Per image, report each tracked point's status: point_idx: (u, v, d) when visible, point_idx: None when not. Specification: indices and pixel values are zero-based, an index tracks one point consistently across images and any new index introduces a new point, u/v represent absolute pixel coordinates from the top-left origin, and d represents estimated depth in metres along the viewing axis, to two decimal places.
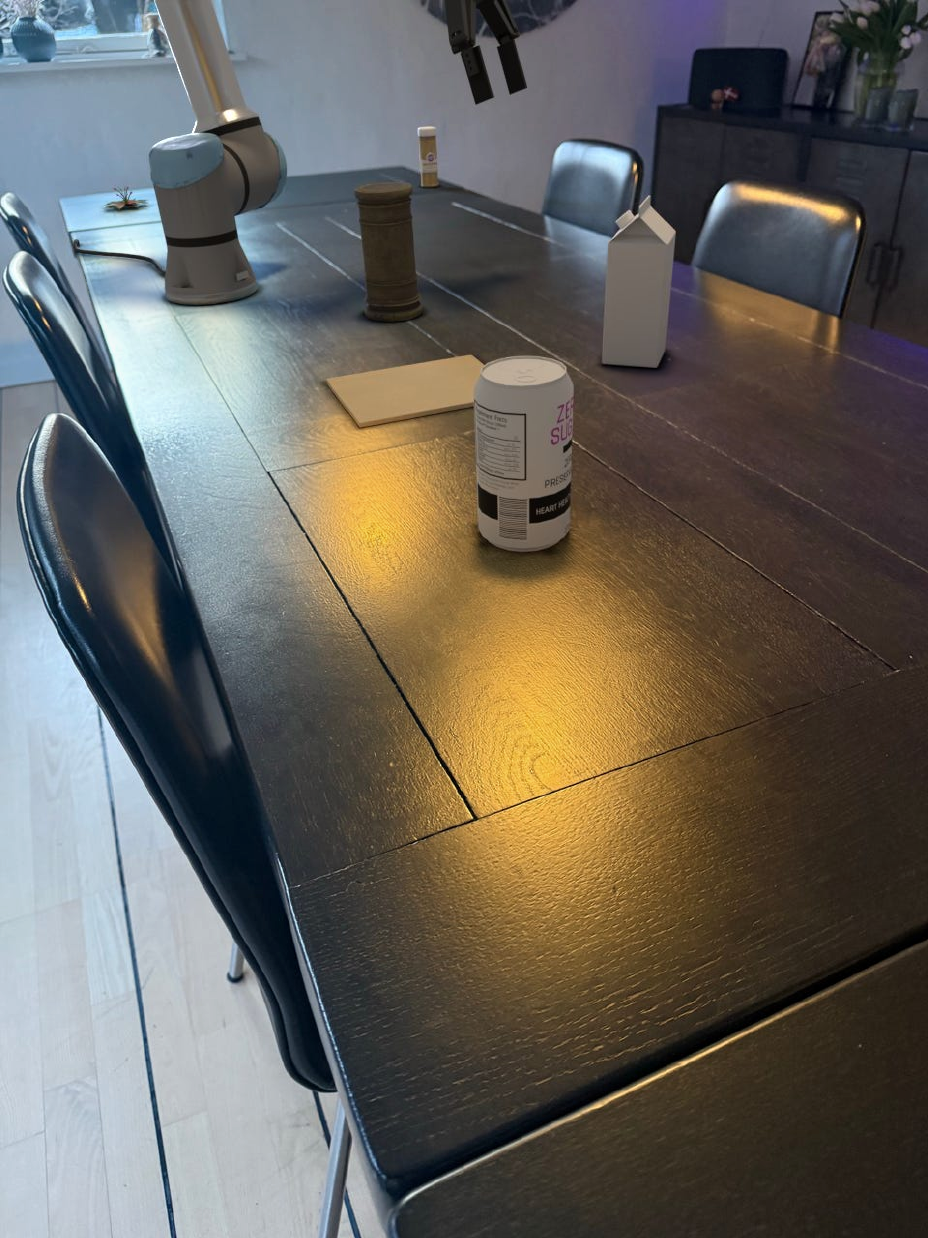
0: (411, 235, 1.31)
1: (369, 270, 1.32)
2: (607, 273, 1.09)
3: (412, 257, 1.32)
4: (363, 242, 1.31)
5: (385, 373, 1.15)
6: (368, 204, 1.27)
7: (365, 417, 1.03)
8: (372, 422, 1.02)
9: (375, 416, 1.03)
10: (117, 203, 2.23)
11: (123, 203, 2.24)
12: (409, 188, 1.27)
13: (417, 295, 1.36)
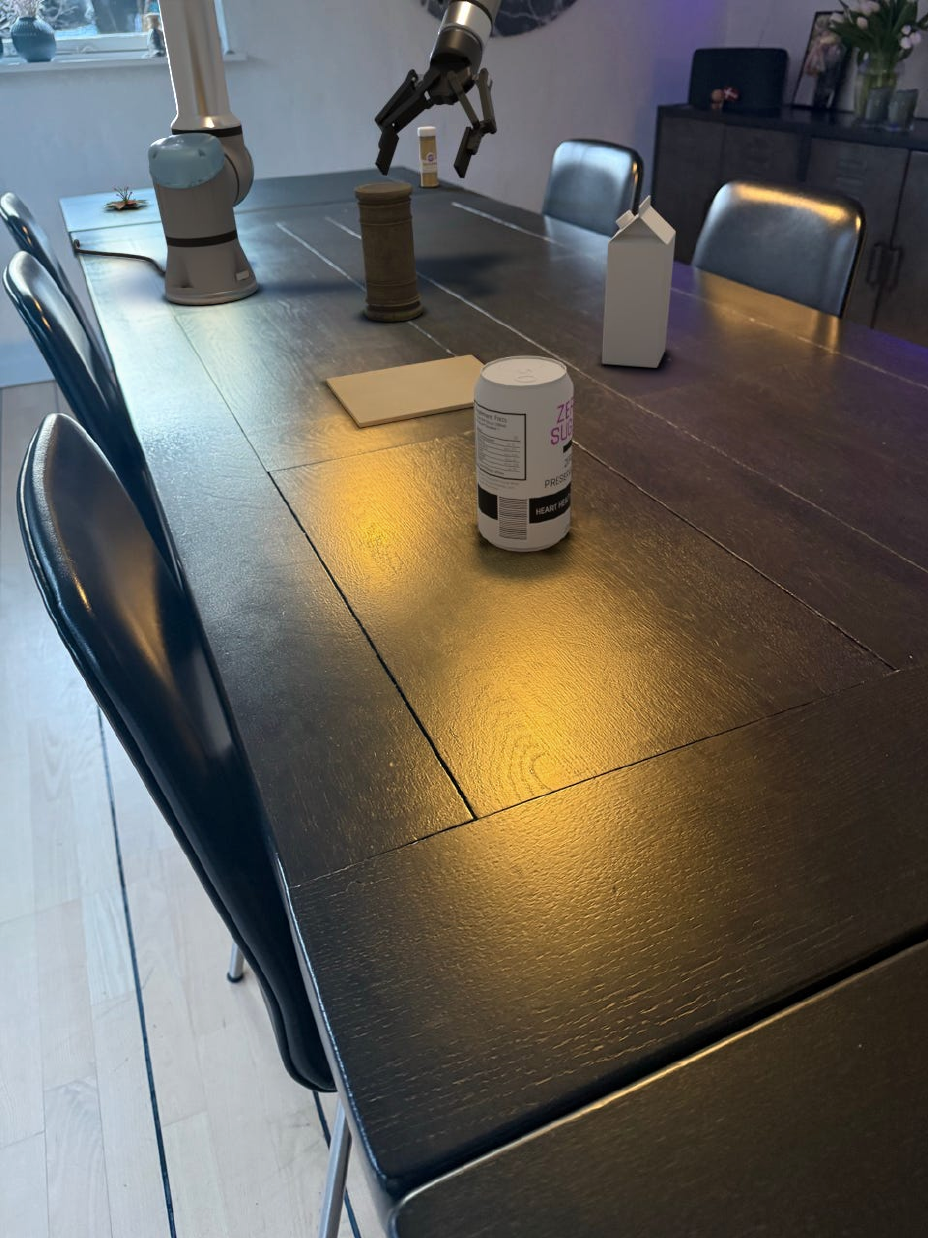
0: (411, 235, 1.31)
1: (369, 270, 1.32)
2: (607, 273, 1.09)
3: (412, 257, 1.32)
4: (363, 242, 1.31)
5: (385, 373, 1.15)
6: (368, 204, 1.27)
7: (365, 417, 1.03)
8: (372, 422, 1.02)
9: (375, 416, 1.03)
10: (117, 203, 2.23)
11: (123, 203, 2.24)
12: (409, 188, 1.27)
13: (417, 295, 1.36)
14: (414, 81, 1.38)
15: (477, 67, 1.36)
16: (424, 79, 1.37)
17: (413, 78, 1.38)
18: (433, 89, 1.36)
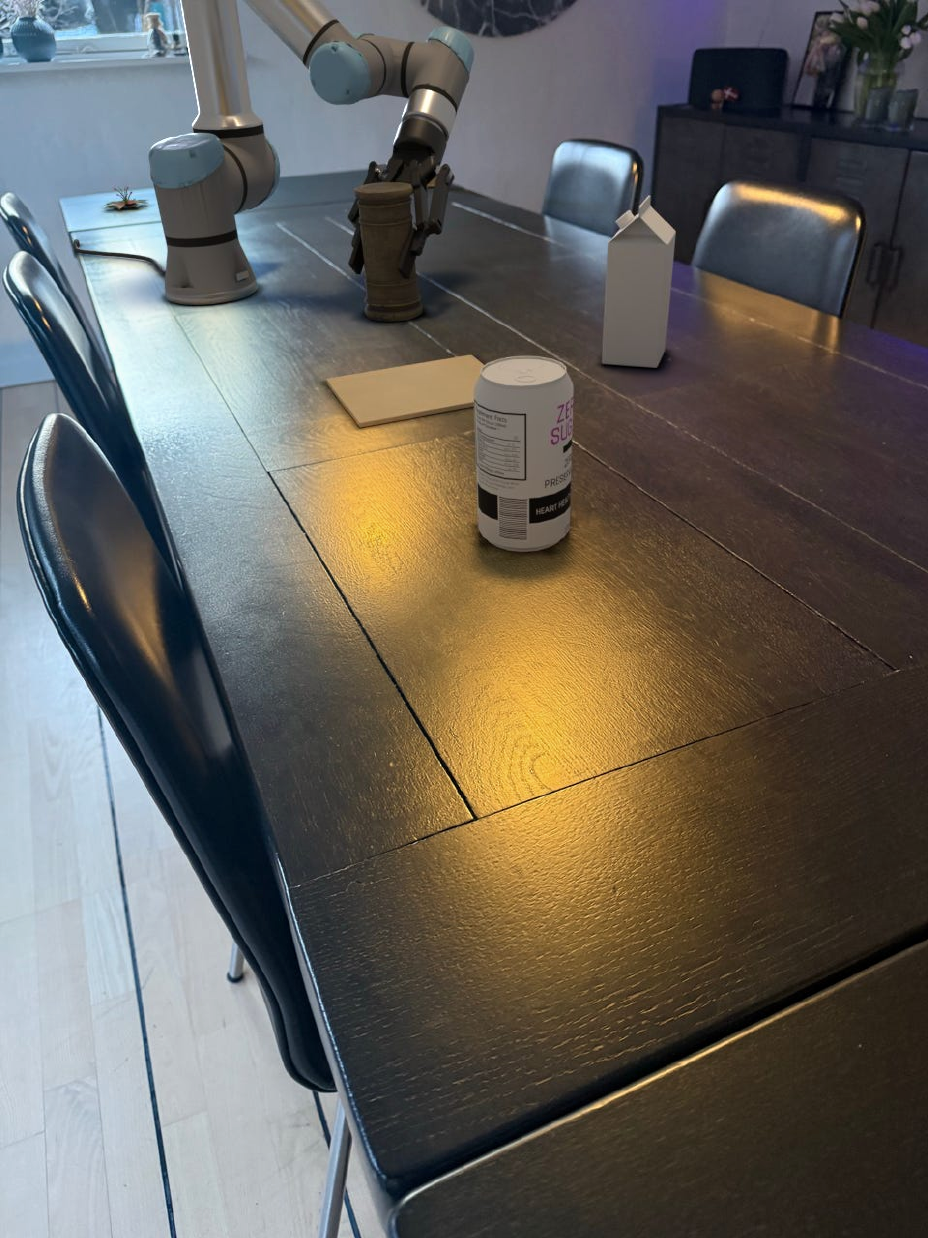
0: None
1: (370, 270, 1.32)
2: (607, 273, 1.09)
3: None
4: (363, 242, 1.31)
5: (385, 373, 1.15)
6: (368, 205, 1.26)
7: (365, 417, 1.03)
8: (372, 422, 1.02)
9: (375, 416, 1.03)
10: (117, 203, 2.23)
11: (123, 203, 2.24)
12: (409, 188, 1.27)
13: (417, 295, 1.36)
14: (378, 172, 1.35)
15: (441, 155, 1.33)
16: (387, 166, 1.34)
17: (376, 169, 1.34)
18: (396, 177, 1.33)
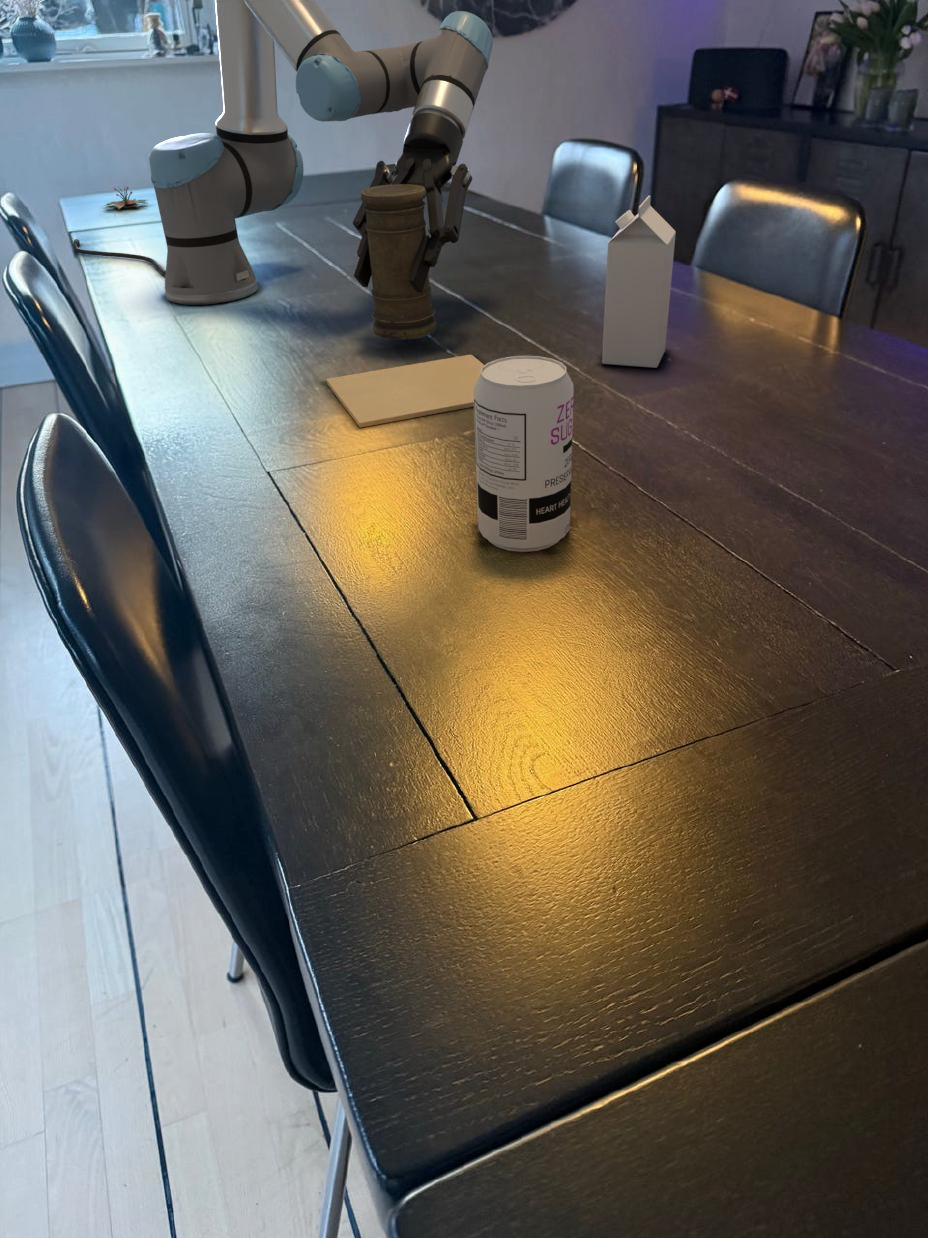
0: None
1: (378, 282, 1.19)
2: (607, 273, 1.09)
3: None
4: (371, 251, 1.17)
5: (385, 373, 1.15)
6: (377, 210, 1.13)
7: (365, 417, 1.03)
8: (372, 422, 1.02)
9: (375, 416, 1.03)
10: (117, 203, 2.23)
11: (123, 203, 2.24)
12: (423, 191, 1.13)
13: (431, 310, 1.22)
14: (386, 173, 1.21)
15: (457, 154, 1.20)
16: (397, 167, 1.20)
17: (385, 170, 1.21)
18: (407, 179, 1.19)
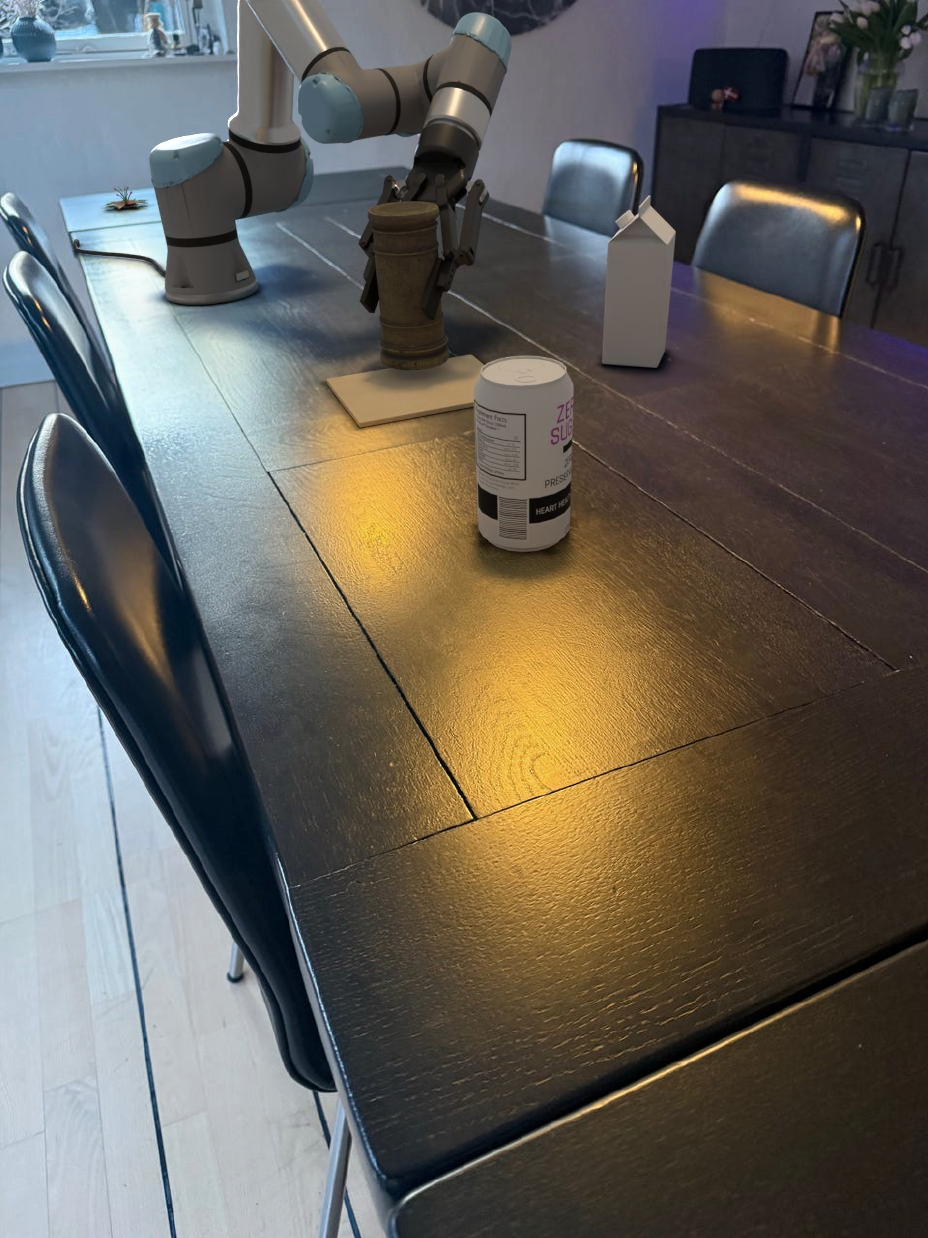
0: None
1: (386, 309, 1.08)
2: (607, 273, 1.09)
3: None
4: (378, 275, 1.07)
5: (385, 373, 1.15)
6: (385, 230, 1.03)
7: (365, 417, 1.03)
8: (372, 422, 1.02)
9: (375, 416, 1.03)
10: (117, 203, 2.23)
11: (123, 203, 2.24)
12: (436, 210, 1.03)
13: (443, 338, 1.12)
14: (395, 188, 1.11)
15: (473, 168, 1.09)
16: (406, 182, 1.10)
17: (393, 185, 1.11)
18: (418, 195, 1.09)
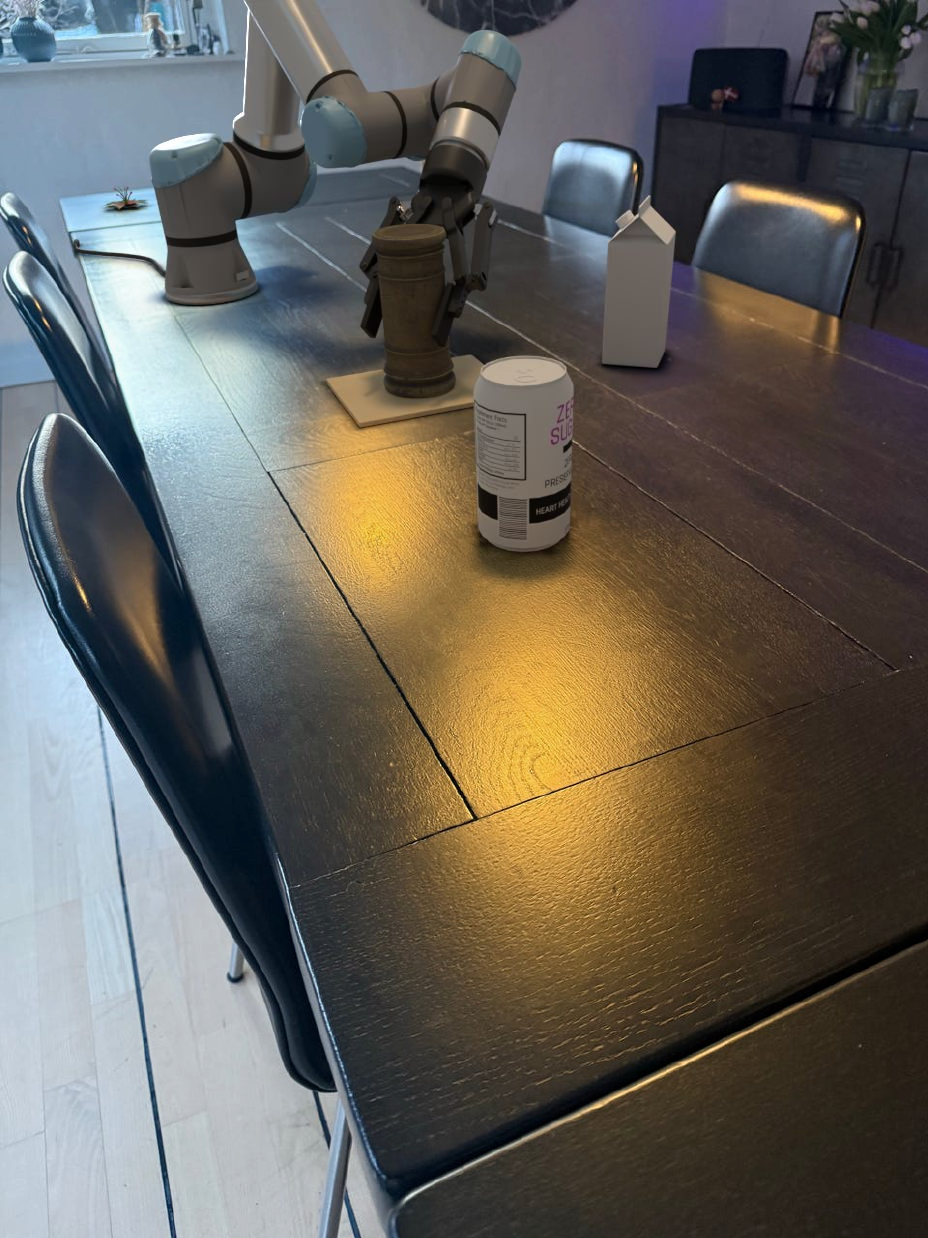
0: None
1: (390, 335, 1.05)
2: (607, 273, 1.09)
3: None
4: (383, 300, 1.03)
5: None
6: (390, 255, 0.99)
7: (365, 417, 1.03)
8: (372, 422, 1.02)
9: (375, 416, 1.03)
10: (117, 203, 2.23)
11: (123, 203, 2.24)
12: (442, 233, 0.99)
13: (450, 364, 1.08)
14: (400, 211, 1.07)
15: (480, 191, 1.06)
16: (412, 205, 1.07)
17: (398, 207, 1.07)
18: (424, 219, 1.05)
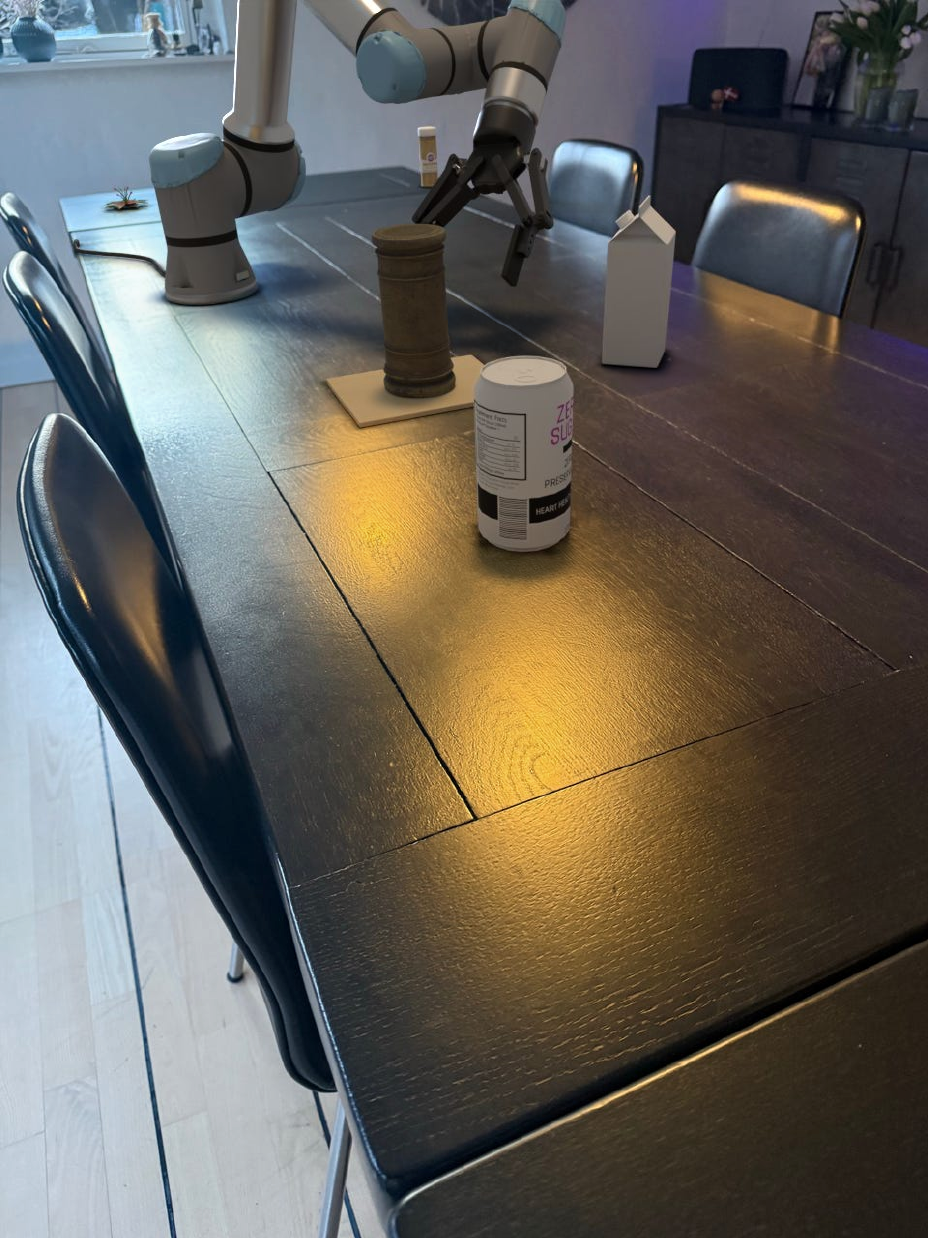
0: (444, 291, 1.03)
1: (390, 335, 1.05)
2: (607, 273, 1.09)
3: (444, 318, 1.05)
4: (383, 300, 1.03)
5: None
6: (390, 255, 0.99)
7: (365, 417, 1.03)
8: (372, 422, 1.02)
9: (375, 416, 1.03)
10: (117, 203, 2.23)
11: (123, 203, 2.24)
12: (442, 233, 0.99)
13: (450, 364, 1.08)
14: (456, 168, 1.15)
15: (529, 144, 1.12)
16: (467, 165, 1.14)
17: (454, 165, 1.15)
18: (478, 177, 1.13)
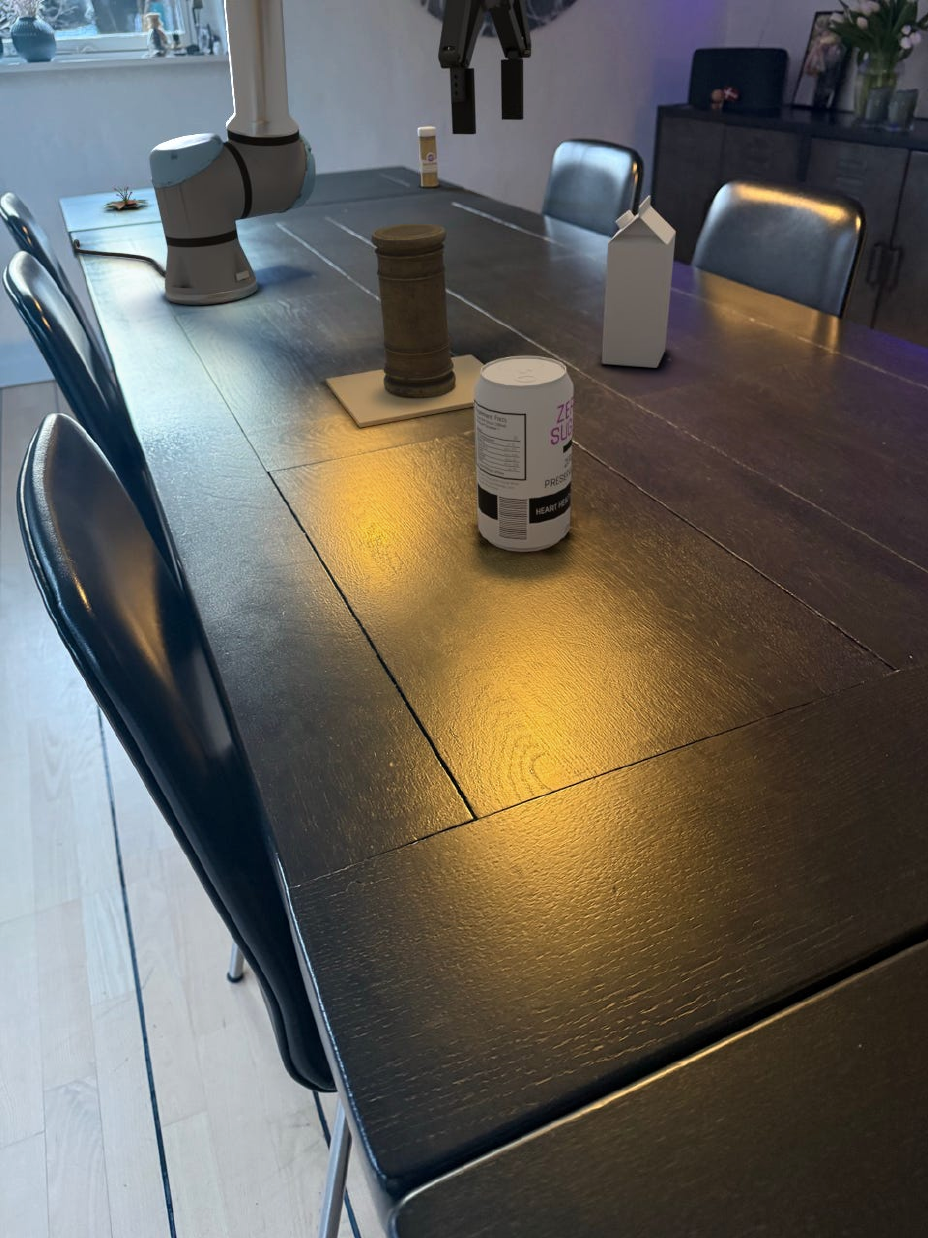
0: (443, 291, 1.03)
1: (390, 335, 1.05)
2: (607, 273, 1.09)
3: (444, 318, 1.05)
4: (383, 300, 1.03)
5: None
6: (390, 255, 0.99)
7: (365, 417, 1.03)
8: (372, 422, 1.02)
9: (375, 416, 1.03)
10: (117, 203, 2.23)
11: (123, 203, 2.24)
12: (442, 233, 0.99)
13: (450, 364, 1.08)
14: None
15: None
16: None
17: None
18: None
